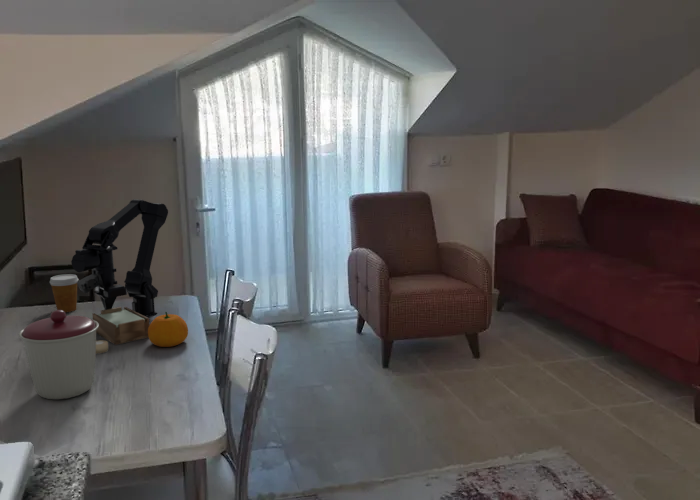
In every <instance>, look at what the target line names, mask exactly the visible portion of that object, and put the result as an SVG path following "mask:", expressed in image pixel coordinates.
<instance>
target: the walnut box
mask: <svg viewBox="0 0 700 500" xmlns="http://www.w3.org/2000/svg"><path fill="white" fill-rule="evenodd" d="M123 309H125V310H127V311H129V312H131V313H133V314H135V315H137V316H139V317H141V318H143V319H140V320H136V321H131V322H126V323H122V324H118V327H117V328H116V325H115V324H113V323H111V322H109V321H108V320H106V319H104V318H102V317H100V316H98V315H97V313H94V312H93V313H92V315H91V316H92V320H94V321H96V322H98V324H99V327H98V329H97V330H96V335H98V336H99V337H102V338H104V340H106V341H108V342H110V343H111V344H114V346H117V345H123V344H126V343H130V342H134V341H135V342H136V341H139V340H144V339H149V337H148V328H149V325H150V318H149V316H143V315H141V314H139V313H137V312H135V311H133V310H132V308H130V307H127V306H125V307H123ZM144 319H145V322H144Z"/></svg>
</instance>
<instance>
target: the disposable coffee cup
mask: <svg viewBox="0 0 700 500" xmlns="http://www.w3.org/2000/svg"><path fill="white" fill-rule="evenodd" d="M79 280H80V279H79V278H78V275H76V274H71V273H69V274H66V273H65V274H58V275H54V276H52V277H50V280H49V284H50V286H51V290H52V294H53V298H54V303H55V307H56V310H63V311H64V312H65V313H70V312H75V311H76V310H77V305H78V304H77V301H78V284H77V282H78V281H79Z"/></svg>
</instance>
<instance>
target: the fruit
mask: <svg viewBox="0 0 700 500" xmlns="http://www.w3.org/2000/svg"><path fill="white" fill-rule="evenodd" d="M188 334H189V328H188V324H187V323H186V321H185V320H184V318H182V317H181V316H179V315H178V314H172V313H171V314H169V313H167V311H165V313H164V314H160V315H158V316H156V317H155V318H154V319H153V320H152V321H151V322H150V323H149V328H148V339H149V341H150V343H151V344H153V345H155V346H156V347H161V348H172V347H175V346H178V345H181V344H182V343H184V342H185V341H186V339H187V337H188Z"/></svg>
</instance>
